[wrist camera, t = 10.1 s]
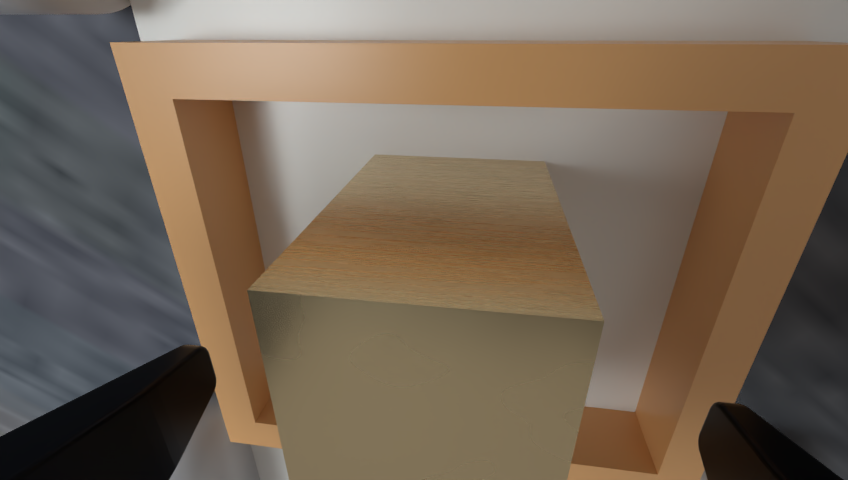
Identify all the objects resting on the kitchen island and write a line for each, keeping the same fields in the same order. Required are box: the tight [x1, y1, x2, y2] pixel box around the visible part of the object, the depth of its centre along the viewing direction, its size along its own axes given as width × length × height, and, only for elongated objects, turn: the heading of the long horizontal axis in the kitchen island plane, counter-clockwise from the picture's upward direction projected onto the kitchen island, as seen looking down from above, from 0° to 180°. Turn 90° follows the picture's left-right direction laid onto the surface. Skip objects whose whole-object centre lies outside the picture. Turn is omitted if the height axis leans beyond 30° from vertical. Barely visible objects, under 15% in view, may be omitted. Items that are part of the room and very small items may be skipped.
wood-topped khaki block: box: [247, 154, 604, 480], centre depth 9 cm, size 4×6×6 cm, turn 0°
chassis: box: [0, 0, 848, 480], centre depth 10 cm, size 22×20×5 cm
